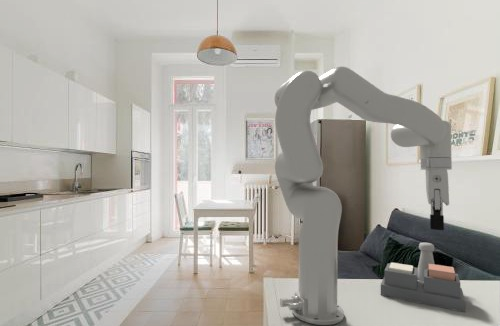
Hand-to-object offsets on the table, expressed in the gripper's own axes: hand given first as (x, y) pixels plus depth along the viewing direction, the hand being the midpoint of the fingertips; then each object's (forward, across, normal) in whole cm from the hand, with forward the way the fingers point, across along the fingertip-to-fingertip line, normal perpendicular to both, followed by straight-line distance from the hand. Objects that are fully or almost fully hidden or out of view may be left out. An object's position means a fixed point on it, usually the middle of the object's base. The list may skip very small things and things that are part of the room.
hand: (436, 229), depth 85 cm
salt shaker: (+20, +12, +3) cm, 24 cm away
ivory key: (+15, 0, +9) cm, 18 cm away
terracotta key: (+14, -1, -1) cm, 14 cm away
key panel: (+20, 0, +4) cm, 20 cm away
